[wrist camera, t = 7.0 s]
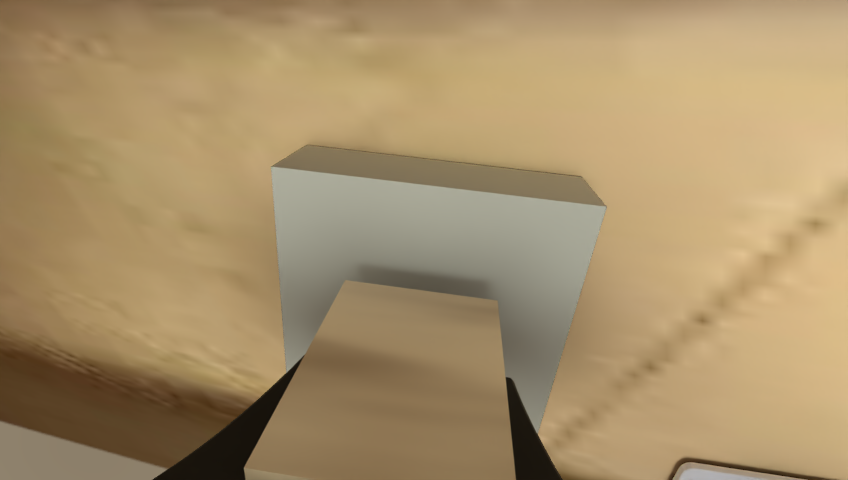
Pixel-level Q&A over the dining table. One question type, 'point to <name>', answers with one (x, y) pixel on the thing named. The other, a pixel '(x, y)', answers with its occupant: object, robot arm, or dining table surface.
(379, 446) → the block
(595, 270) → the dining table surface
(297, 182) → the base
